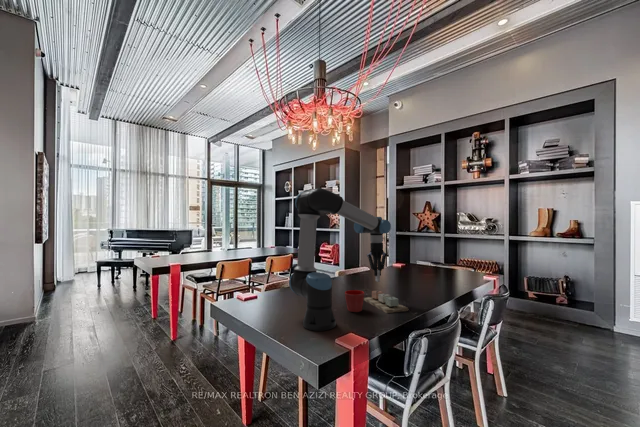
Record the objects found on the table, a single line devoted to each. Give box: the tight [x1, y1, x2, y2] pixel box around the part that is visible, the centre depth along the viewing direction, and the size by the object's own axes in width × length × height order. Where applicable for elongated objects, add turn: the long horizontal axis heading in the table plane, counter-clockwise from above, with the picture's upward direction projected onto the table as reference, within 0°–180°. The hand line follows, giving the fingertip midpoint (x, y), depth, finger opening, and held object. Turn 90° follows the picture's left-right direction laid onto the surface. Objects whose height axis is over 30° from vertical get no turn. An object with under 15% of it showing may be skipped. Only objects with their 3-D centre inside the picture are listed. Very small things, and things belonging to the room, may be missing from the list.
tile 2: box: [385, 296, 399, 306], centre depth 156 cm, size 5×5×4 cm
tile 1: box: [377, 293, 392, 303], centre depth 164 cm, size 5×5×4 cm
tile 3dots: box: [371, 290, 384, 299], centre depth 171 cm, size 5×5×4 cm
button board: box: [363, 296, 409, 314], centre depth 164 cm, size 27×13×2 cm, turn 17°
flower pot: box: [344, 289, 365, 313], centre depth 155 cm, size 11×11×10 cm
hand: (377, 281), depth 172 cm, fingers closed
